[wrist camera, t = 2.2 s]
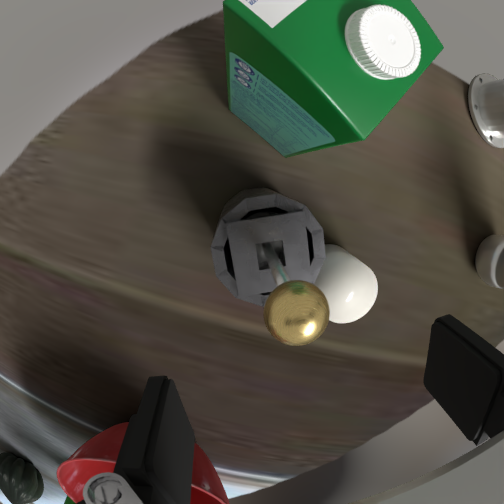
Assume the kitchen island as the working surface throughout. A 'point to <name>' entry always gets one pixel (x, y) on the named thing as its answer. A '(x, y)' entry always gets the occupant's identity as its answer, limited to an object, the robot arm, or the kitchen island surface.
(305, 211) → the carafe
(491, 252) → the plastic bottle
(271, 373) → the kitchen island surface
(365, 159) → the kitchen island surface
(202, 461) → the mixing bowl
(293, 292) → the plunger
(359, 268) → the white egg shape
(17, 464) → the squash
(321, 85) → the milk carton
